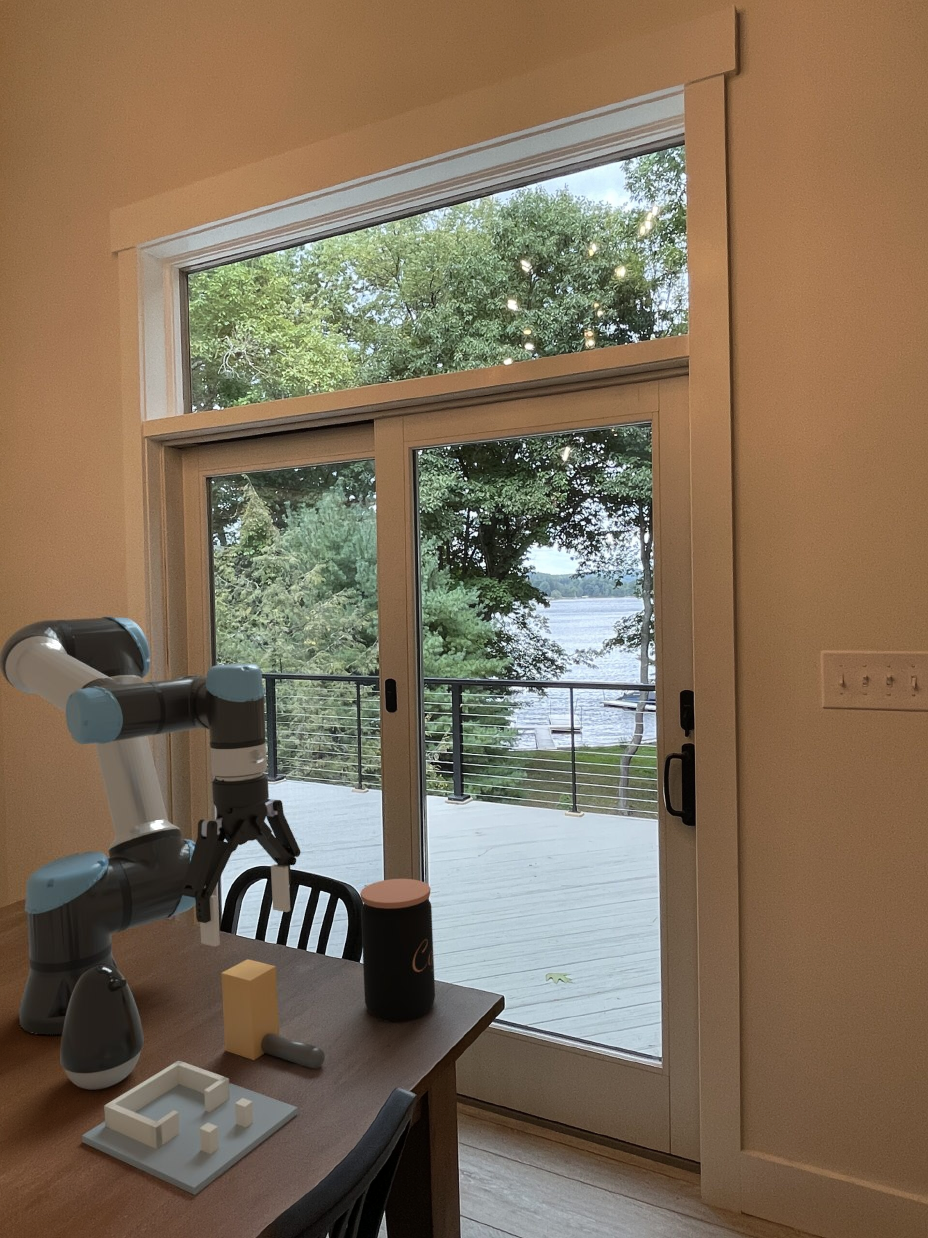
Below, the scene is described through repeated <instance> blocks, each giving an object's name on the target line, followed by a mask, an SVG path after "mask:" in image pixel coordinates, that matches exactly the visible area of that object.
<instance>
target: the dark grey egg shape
mask: <svg viewBox="0 0 928 1238" xmlns="http://www.w3.org/2000/svg"><path fill="white" fill-rule="evenodd" d="M60 1039H61V1041H60V1049H59V1052H60V1053H59V1054H60V1055H59V1057H60V1058H59V1060H60V1061H59V1062H60V1065H61V1067H62V1068H63V1069H64V1071H65V1073H66V1076H67V1078H68V1079H69V1080H70V1082H72V1084H73V1085H76V1086H77V1087H79V1088H81V1089H85V1090H101V1089H106V1088H109V1087H112V1086H114V1085H117V1084H118V1083H120V1082H122V1081H123V1080H124V1079H126V1078H127V1077H128V1076H129V1075H130V1074H131V1073H132V1072H133V1070H134V1069H135V1067H136V1066H137V1064H138V1062H139V1059H140V1056H141V1051H142V1049H143V1047H144V1045H145V1043H144V1042H145V1041H144V1040H145V1038H144V1031H143V1025H142V1021H141V1017H140V1013H139V1009H138V1007H137V1004H136V1000H135V998H134V995H133V993H132V991H131V988H130V986H129V984H128V981H127V979H126V978H125V977H124V975H123V974H122V973H121V972H120V970H119V971H118V970H117V969H116V968H115V967H114V966H112V965H109V964H97V965H94V966H92V967H90V968H88V969H87V970H86V971H84V972H83V974H82V975H81V976H80V978H79V979H78V981H77V983H76V985H75V987H74V989H73V992H72V994H71V997H70V1000H69V1004H68V1007H67V1011H66V1015H65V1020H64V1025H63V1031H62V1034H61V1038H60Z"/></svg>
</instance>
